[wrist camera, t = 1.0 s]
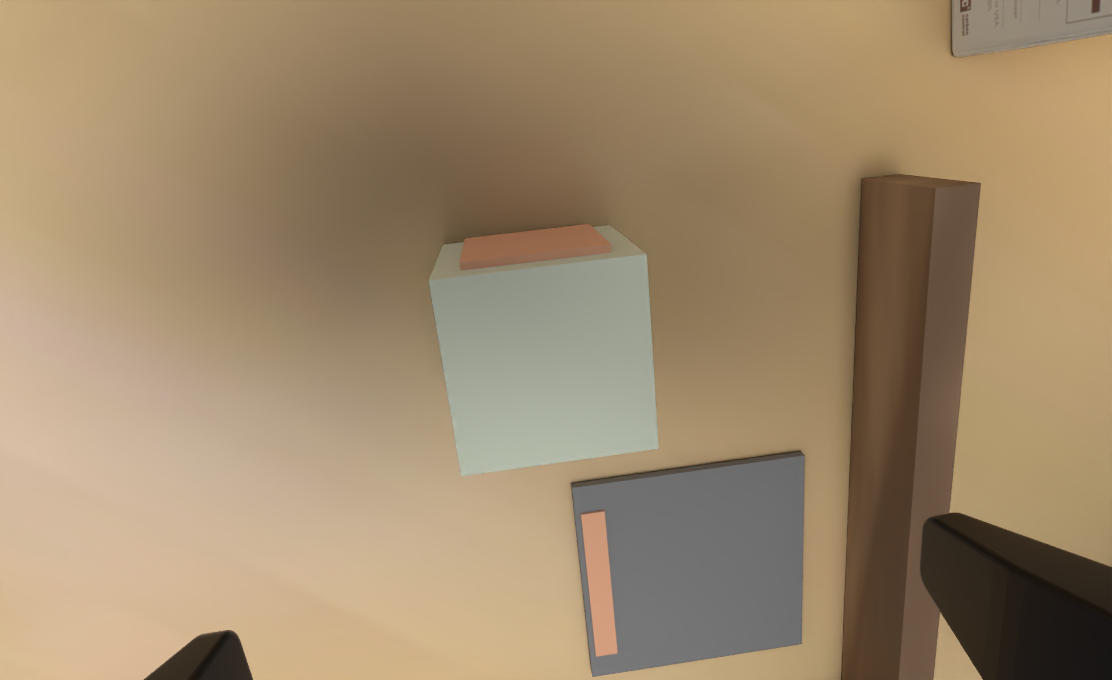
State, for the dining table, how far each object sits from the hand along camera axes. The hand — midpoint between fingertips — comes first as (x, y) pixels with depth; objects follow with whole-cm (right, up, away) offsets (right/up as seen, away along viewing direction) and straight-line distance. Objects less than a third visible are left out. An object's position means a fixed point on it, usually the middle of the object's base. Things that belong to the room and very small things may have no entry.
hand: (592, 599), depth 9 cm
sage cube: (-1, +4, +12) cm, 13 cm away
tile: (+4, -5, +15) cm, 17 cm away
